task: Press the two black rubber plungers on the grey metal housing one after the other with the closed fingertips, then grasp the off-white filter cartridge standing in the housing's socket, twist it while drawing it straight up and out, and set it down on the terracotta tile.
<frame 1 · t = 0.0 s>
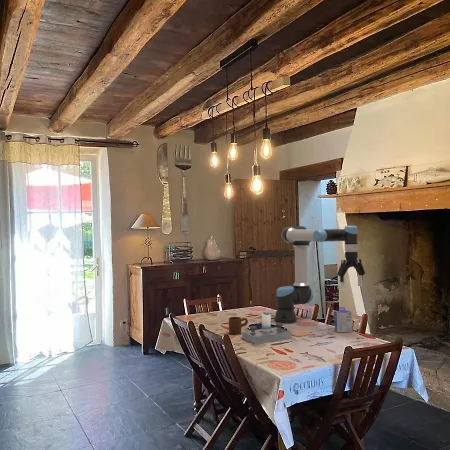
hand: (351, 286, 269), 28 cm above the table, fingers open, 13 cm apart
plunger near: (253, 331, 254), point 5 cm above the table, slide at 0.0 cm
filter cartridge: (266, 325, 258), in the housing
ink cartridge box: (343, 331, 275), on the table
mug: (238, 333, 272), on the table
housing: (266, 338, 258), on the table
plunger far: (279, 327, 262), point 5 cm above the table, slide at 0.0 cm
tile: (299, 333, 270), on the table
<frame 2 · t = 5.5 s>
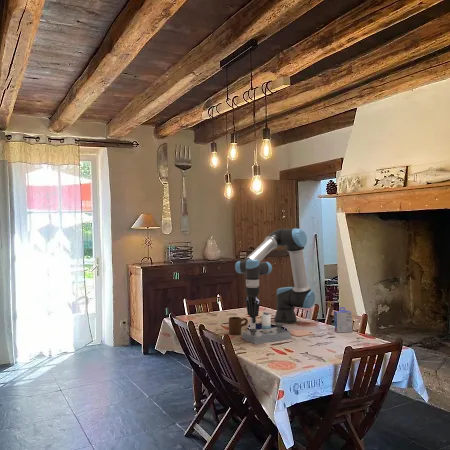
hand: (252, 328, 254), 7 cm above the table, fingers closed
plunger near: (253, 333, 254), point 4 cm above the table, slide at 1.2 cm, touching gripper
everything else where it was.
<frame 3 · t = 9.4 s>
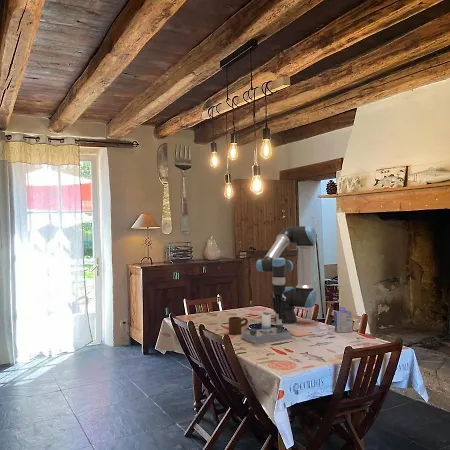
hand: (279, 324, 262), 7 cm above the table, fingers closed
plunger near: (253, 334, 254), point 4 cm above the table, slide at 1.5 cm
plunger far: (279, 329, 262), point 4 cm above the table, slide at 0.9 cm, touching gripper
everything else where it was.
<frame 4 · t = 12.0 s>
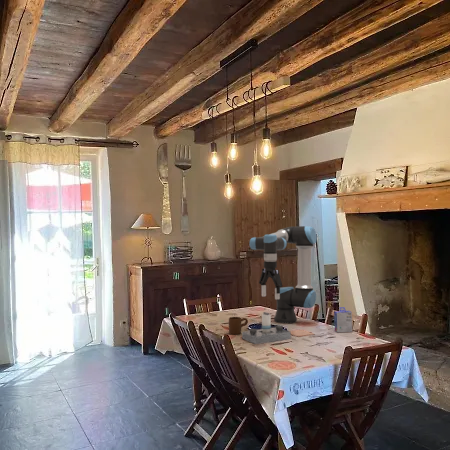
hand: (270, 297, 259), 23 cm above the table, fingers open, 13 cm apart
plunger far: (279, 330, 262), point 4 cm above the table, slide at 1.5 cm
everything else where it was.
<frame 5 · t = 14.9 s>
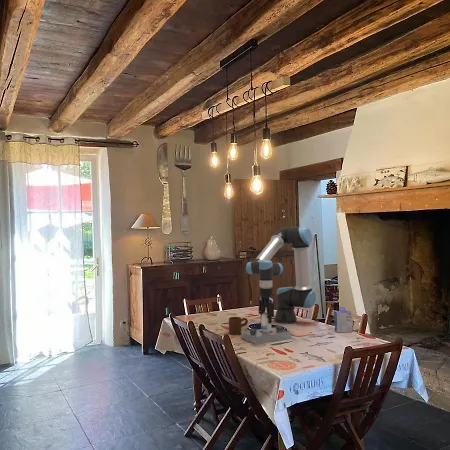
hand: (266, 327, 258), 6 cm above the table, fingers closed on filter cartridge, 5 cm apart
filter cartridge: (266, 325, 258), in the housing, touching gripper
everything else where it was.
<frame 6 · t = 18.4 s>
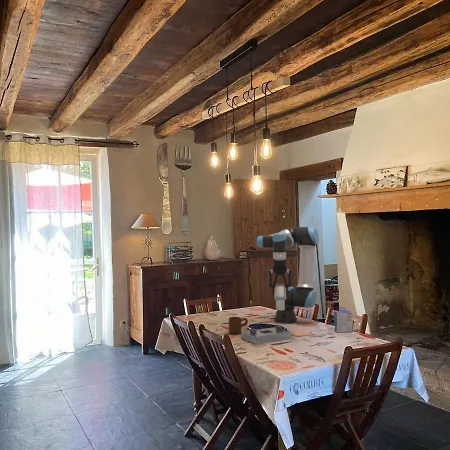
hand: (280, 298, 263), 22 cm above the table, fingers closed on filter cartridge, 5 cm apart
filter cartridge: (280, 296, 263), point 23 cm above the table, touching gripper
everything else where it was.
when the fingers open (8 cm above the table, at t = 22.2 s): filter cartridge drops 1 cm, resting on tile.
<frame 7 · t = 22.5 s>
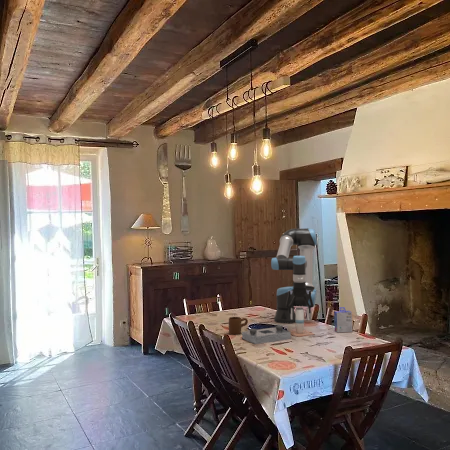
hand: (299, 318, 270), 9 cm above the table, fingers open, 9 cm apart
filter cartridge: (299, 320, 270), on the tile, point 8 cm above the table
everything else where it was.
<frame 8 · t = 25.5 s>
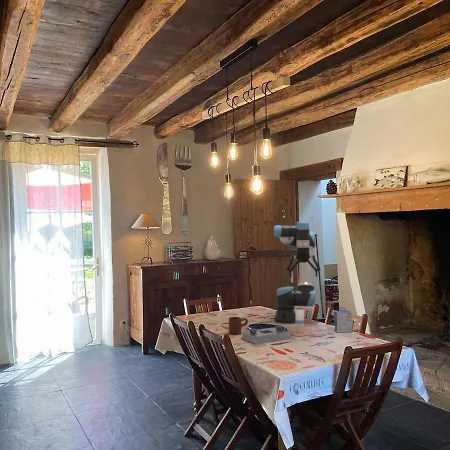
hand: (303, 282, 271), 31 cm above the table, fingers open, 13 cm apart
nothing on the table moved.
at the end: filter cartridge inside the target area on the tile (0.0 cm from its centre), point 8.1 cm above the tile's base; filter cartridge tilted 0°; the gripper is holding nothing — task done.
